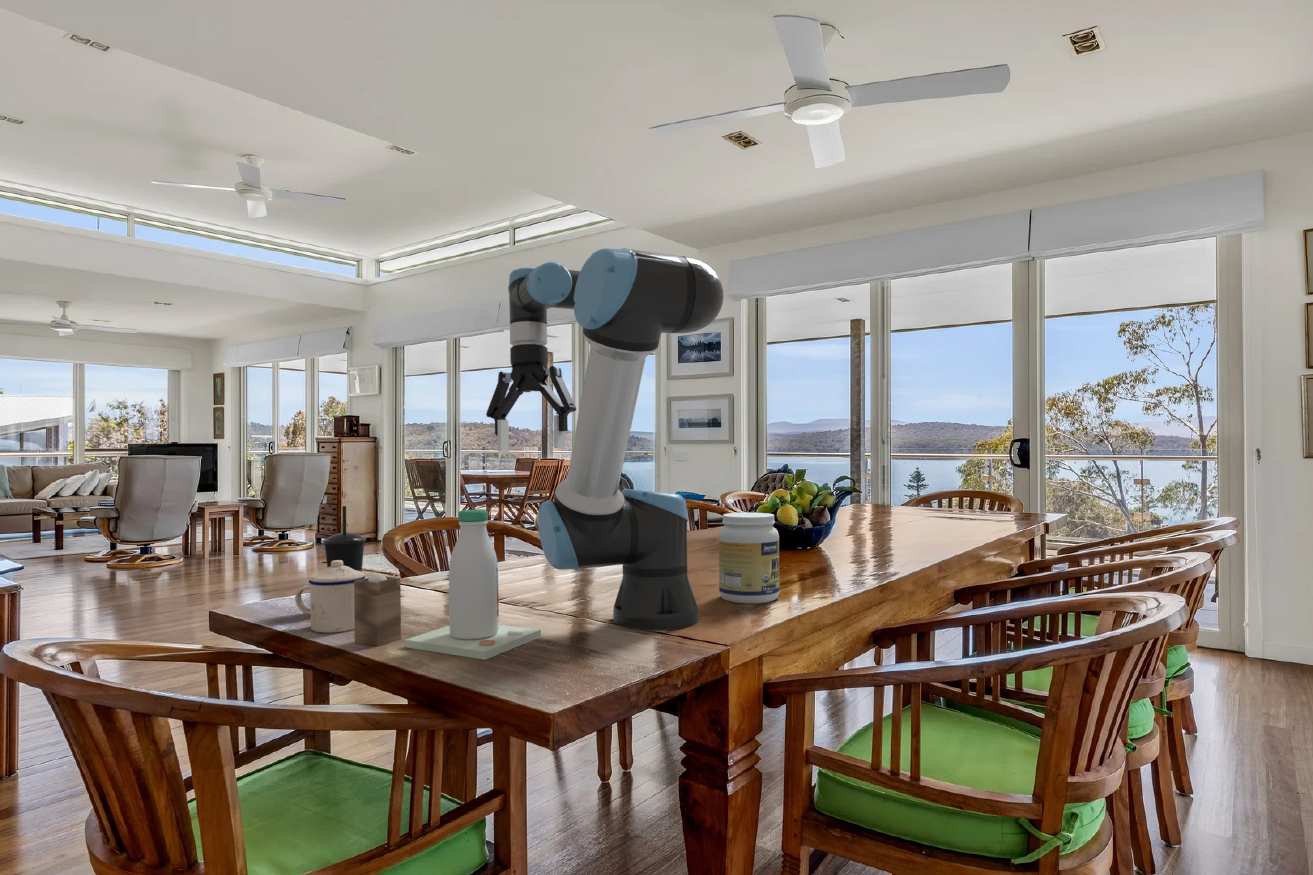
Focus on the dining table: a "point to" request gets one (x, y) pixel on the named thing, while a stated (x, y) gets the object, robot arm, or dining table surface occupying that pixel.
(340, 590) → the teacup with lid
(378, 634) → the walnut tube
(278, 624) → the dining table surface
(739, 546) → the supplement tub
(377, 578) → the cream ball
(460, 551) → the milk bottle
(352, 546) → the drinking cup
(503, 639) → the card
